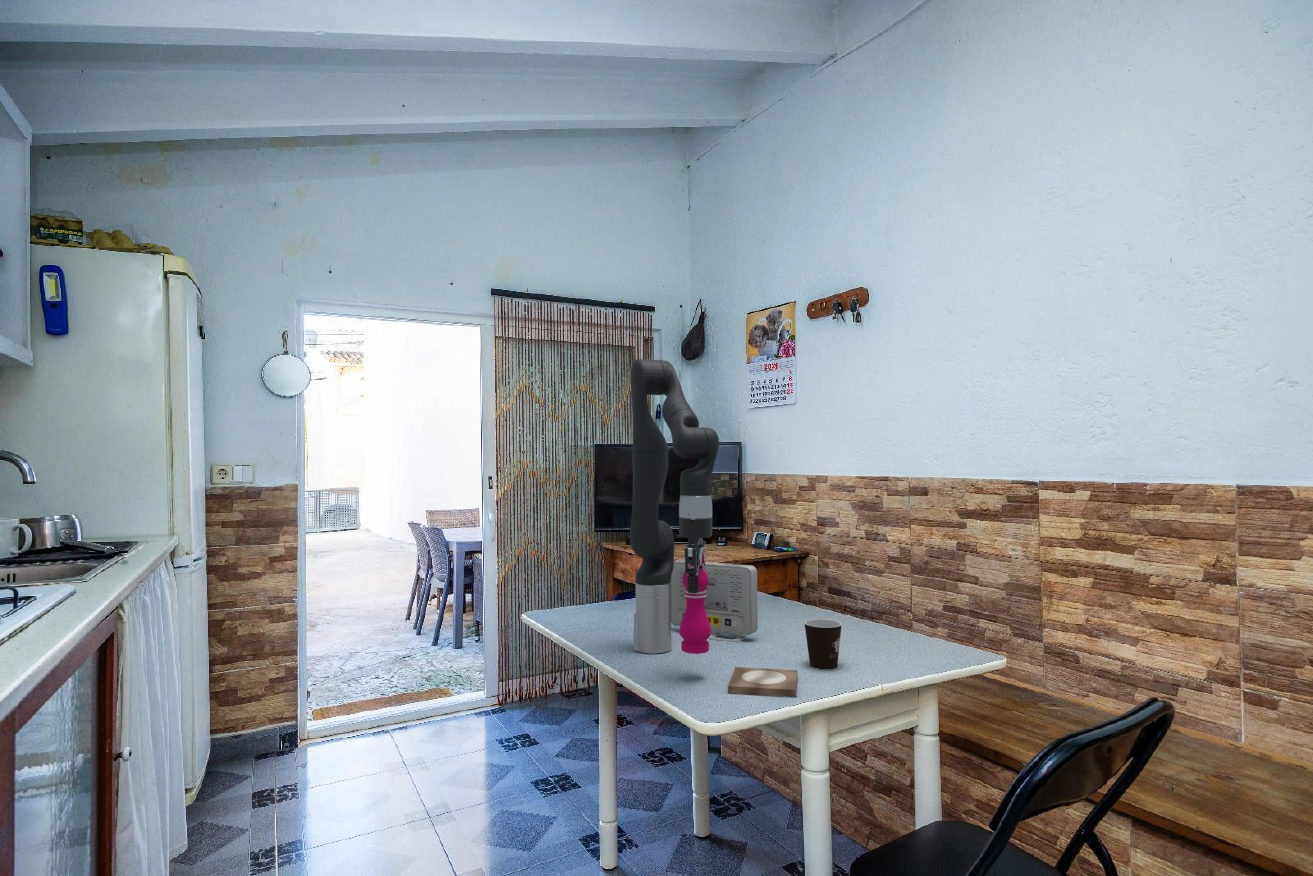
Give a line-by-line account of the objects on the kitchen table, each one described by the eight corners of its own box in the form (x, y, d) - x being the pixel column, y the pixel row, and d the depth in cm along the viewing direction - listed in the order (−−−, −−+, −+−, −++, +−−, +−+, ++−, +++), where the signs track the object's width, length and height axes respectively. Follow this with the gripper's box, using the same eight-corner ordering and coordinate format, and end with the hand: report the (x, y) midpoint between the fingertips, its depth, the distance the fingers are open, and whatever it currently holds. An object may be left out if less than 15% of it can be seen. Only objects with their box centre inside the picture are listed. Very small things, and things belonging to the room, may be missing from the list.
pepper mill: (701, 656, 157) (701, 564, 157) (673, 651, 160) (673, 561, 161) (716, 649, 163) (717, 560, 163) (689, 644, 167) (689, 558, 167)
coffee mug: (821, 673, 164) (820, 629, 164) (797, 663, 172) (796, 621, 172) (859, 665, 169) (859, 623, 170) (835, 657, 177) (834, 616, 177)
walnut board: (728, 693, 151) (728, 685, 151) (735, 673, 164) (735, 666, 164) (795, 697, 148) (795, 689, 148) (797, 677, 161) (797, 669, 161)
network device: (761, 638, 197) (760, 565, 197) (747, 645, 189) (746, 569, 190) (681, 627, 210) (680, 558, 211) (665, 633, 203) (664, 562, 204)
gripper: (685, 512, 170) (684, 583, 170) (672, 517, 156) (672, 595, 156) (716, 513, 168) (716, 585, 168) (707, 518, 154) (706, 597, 154)
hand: (695, 589), depth 162 cm, fingers closed on pepper mill, 6 cm apart
